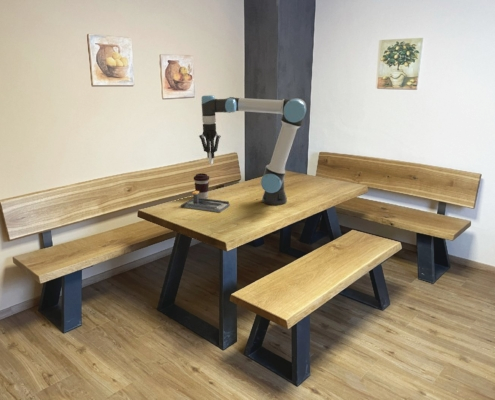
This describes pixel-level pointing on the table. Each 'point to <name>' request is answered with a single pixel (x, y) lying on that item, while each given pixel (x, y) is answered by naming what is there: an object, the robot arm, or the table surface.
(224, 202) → the long dark grey rail
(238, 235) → the table surface
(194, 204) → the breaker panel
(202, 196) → the coffee cup
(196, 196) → the lever
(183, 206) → the grey panel edge rail
